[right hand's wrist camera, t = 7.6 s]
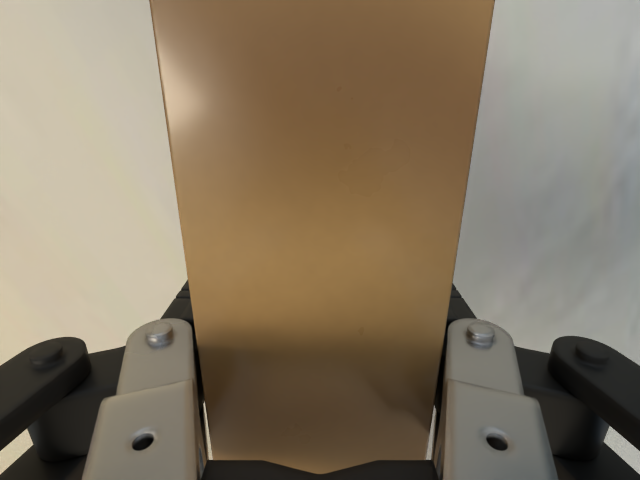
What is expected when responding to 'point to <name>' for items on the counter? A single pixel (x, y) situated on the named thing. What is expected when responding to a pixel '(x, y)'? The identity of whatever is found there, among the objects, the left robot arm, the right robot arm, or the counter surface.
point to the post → (320, 213)
